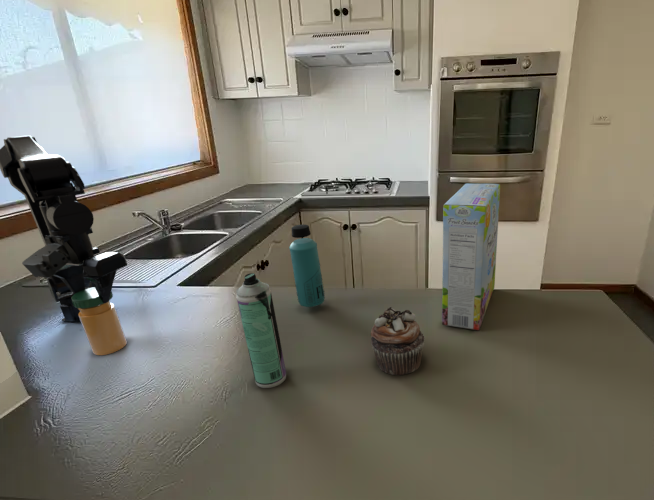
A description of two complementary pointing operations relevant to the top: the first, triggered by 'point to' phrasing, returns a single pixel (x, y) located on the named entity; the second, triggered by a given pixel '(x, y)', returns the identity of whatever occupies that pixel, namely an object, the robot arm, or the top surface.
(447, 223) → the snack box
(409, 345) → the cupcake
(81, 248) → the robot arm
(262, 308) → the spray can
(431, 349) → the top surface
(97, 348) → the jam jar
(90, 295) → the jam lid
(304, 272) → the beverage bottle
